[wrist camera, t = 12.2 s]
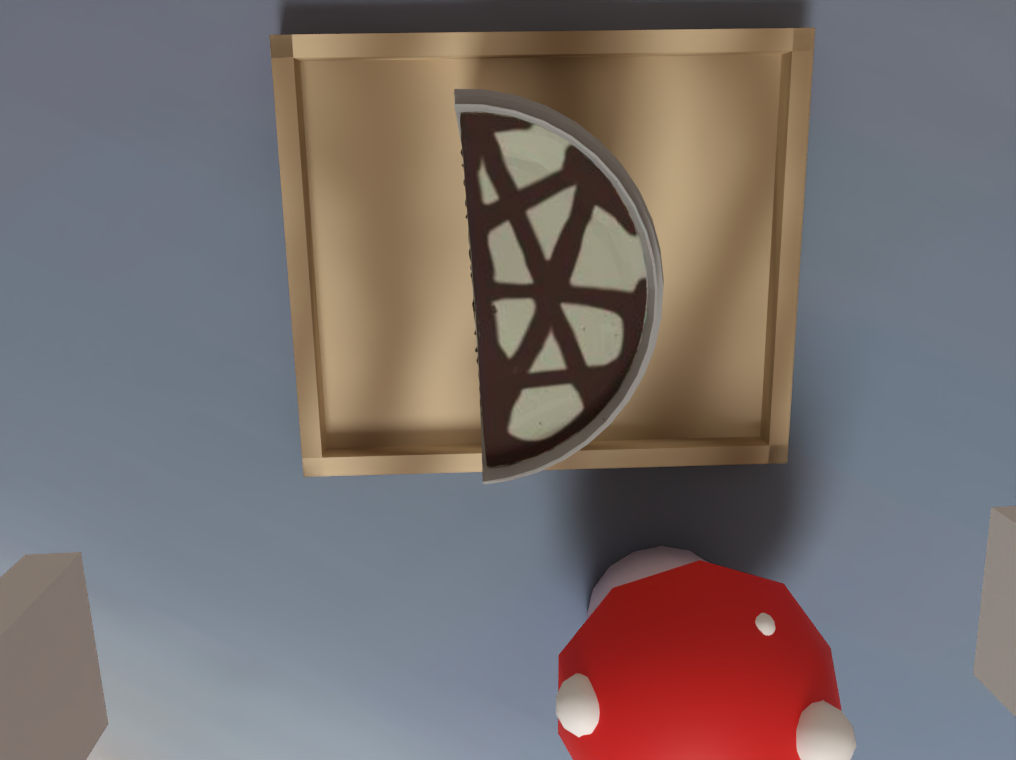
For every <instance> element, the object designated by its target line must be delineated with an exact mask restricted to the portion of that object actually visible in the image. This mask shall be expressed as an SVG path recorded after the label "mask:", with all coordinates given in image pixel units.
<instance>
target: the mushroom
mask: <svg viewBox="0 0 1016 760" xmlns="http://www.w3.org/2000/svg"><path fill="white" fill-rule="evenodd" d="M556 715H557V717H558V734H559V735H560V737H561V739H562V741H563V742H564V744H565V746H566V748H567V749H568V751H569V753H570V755H571V756H572V758H573V760H850V759H851V757H852V755H853V753H854V750H855V748H856V741H855V736H854V730H853V726H852V725H851V723H850V722H849V720H848V719H847V718H846V716H845V715H844V714H843V712H842V710H841V705H840V699H839V693H838V688H837V682H836V676H835V671H834V665H833V660H832V654H831V648H830V647H829V645H828V644H827V642H826V641H825V640H824V638H823V637H822V636H821V634H820V633H819V631H818V630H817V629H816V627H815V626H814V625H813V623H812V622H811V620H810V619H809V618H808V616H807V615H806V614H805V612H804V611H803V609H802V608H801V607H800V605H799V604H798V603H797V601H796V600H795V598H794V597H793V596H792V594H791V593H790V592H789V590H788V589H787V587H786V586H785V585H784V584H783V583H779V582H776V581H772V580H769V579H765V578H762V577H758V576H755V575H751V574H747V573H744V572H740V571H737V570H733V569H730V568H726V567H722V566H719V565H715V564H712V563H709V562H707V561H706V560H704V559H702V558H701V557H699V556H697V555H696V554H694V553H693V552H691V551H689V550H684V549H677V548H671V547H665V546H658V547H653V548H649V549H644V550H639V551H634V552H632V553H630V554H629V555H627V556H626V557H624V558H622V559H621V560H619V561H618V562H616V563H614V564H613V565H611V566H610V567H609V568H608V569H607V570H606V572H605V573H604V574H603V576H602V577H601V579H600V580H599V581H598V583H597V584H596V585H595V587H594V588H593V590H592V595H591V599H590V603H589V607H588V612H587V619H586V622H585V623H584V624H583V625H582V627H581V628H580V629H579V630H578V632H577V633H576V634H575V635H574V637H573V638H572V639H571V640H570V642H569V643H568V644H567V645H566V647H565V648H564V649H563V650H562V652H561V653H560V654H559V682H558V694H557V696H556Z"/></svg>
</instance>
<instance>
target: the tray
mask: <svg viewBox="0 0 1016 760" xmlns="http://www.w3.org/2000/svg"><path fill="white" fill-rule="evenodd" d="M814 37H815V28H762V29H683V30H604V31H525V32H446V33H367V34H288V35H270V48H271V60H272V73H273V86H274V99H275V112H276V125H277V138H278V151H279V164H280V177H281V190H282V203H283V216H284V229H285V242H286V254H287V267H288V280H289V293H290V306H291V319H292V332H293V345H294V358H295V371H296V384H297V397H298V410H299V423H300V436H301V448H302V461H303V474H304V477H313V476H348V475H384V474H419V473H455V472H482V445H481V418H480V391H479V377H478V371H479V368H478V364H477V362H476V360H477V357H478V355H477V352H475V349H476V347H477V341H476V335H474V332H475V330H476V328H475V318H474V312H473V307H472V303H473V288H472V279H471V276H470V275H471V269H470V265H471V261H470V257H469V249H470V247H469V240H468V220H467V219H466V215H467V207H466V206H465V200H466V193H465V186H464V184H463V181H464V169H463V167H462V164H463V157H462V155H461V150H462V145H461V139H460V134H459V128H458V123H457V117H456V112H455V106H454V104H455V101H454V89H485V90H490V91H496V92H502V93H507V94H513V95H517V96H520V97H523V98H526V99H529V100H532V101H534V102H537V103H540V104H543V105H546V106H548V107H550V108H552V109H553V110H555V111H557V112H559V113H561V114H563V115H564V116H566V117H568V118H570V119H572V120H574V121H575V122H577V123H578V124H579V125H580V126H582V127H583V128H584V129H586V130H587V131H588V132H589V133H591V134H592V135H593V136H595V137H596V138H597V139H598V140H600V141H601V142H602V143H603V144H604V145H605V147H606V148H607V149H608V150H609V151H610V152H611V153H612V154H613V155H614V156H615V157H616V158H617V160H618V161H619V162H620V163H621V164H622V165H623V167H624V168H625V170H626V171H627V173H628V174H629V176H630V177H631V179H632V180H633V182H634V183H635V185H636V186H637V188H638V189H639V191H640V193H641V195H642V197H643V199H644V202H645V204H646V206H647V208H648V211H649V213H650V215H651V217H652V219H653V223H654V227H655V231H656V234H657V238H658V242H659V245H660V249H661V259H662V268H663V278H664V284H663V302H662V318H661V323H660V327H659V332H658V336H657V341H656V345H655V349H654V351H653V354H652V356H651V359H650V361H649V364H648V367H647V369H646V372H645V374H644V376H643V378H642V380H641V381H640V383H639V385H638V387H637V388H636V390H635V392H634V393H633V395H632V397H631V399H630V400H629V402H628V403H627V404H626V405H625V407H624V408H623V409H622V410H621V412H620V413H619V414H618V415H617V416H616V418H615V419H614V420H613V421H612V423H611V424H610V425H609V426H608V427H606V428H605V429H604V430H603V431H602V432H601V433H600V434H599V435H598V436H597V437H596V438H594V439H593V440H592V441H591V442H590V443H589V444H587V445H586V446H584V447H583V448H581V449H580V450H578V451H577V452H575V453H574V454H572V455H571V456H569V457H568V458H566V459H565V460H563V461H561V462H559V463H557V464H554V465H552V466H550V467H548V468H546V469H544V470H562V469H597V468H633V467H669V466H704V465H740V464H775V463H787V457H788V441H789V426H790V410H791V395H792V379H793V364H794V348H795V332H796V317H797V301H798V286H799V270H800V255H801V239H802V224H803V208H804V193H805V177H806V161H807V146H808V130H809V115H810V99H811V84H812V68H813V53H814Z"/></svg>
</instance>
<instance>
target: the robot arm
mask: <svg viewBox="0 0 1016 760" xmlns="http://www.w3.org/2000/svg"><path fill="white" fill-rule="evenodd" d="M973 674H974V676H975V677H976V678H977V679H978V680H979V681H980V682H981V683H982V684H983V685H984V686H985V687H986V688H987V689H988V690H989V691H990V692H991V693H992V694H993V695H994V696H995V697H996V698H997V699H998V700H999V701H1000V702H1001V703H1002V704H1003V705H1004V706H1005V707H1006V708H1007V709H1008V710H1009V711H1010V712H1011V713H1012V714H1013V715H1014V716H1015V717H1016V506H1007V507H991V516H990V525H989V534H988V543H987V552H986V562H985V571H984V580H983V589H982V599H981V608H980V617H979V626H978V635H977V645H976V654H975V663H974V672H973ZM107 725H108V719H107V713H106V706H105V700H104V694H103V688H102V681H101V675H100V669H99V663H98V656H97V650H96V644H95V638H94V631H93V625H92V619H91V613H90V606H89V600H88V594H87V587H86V581H85V575H84V569H83V562H82V556H81V552H73V553H53V554H33V555H25V556H23V557H22V558H21V559H20V560H19V561H18V562H17V563H16V564H15V565H14V566H13V567H11V568H10V569H9V570H8V571H7V572H6V573H5V574H4V575H3V576H2V577H1V578H0V760H86V759H87V757H88V756H89V754H90V752H91V751H92V749H93V748H94V746H95V744H96V743H97V741H98V739H99V738H100V736H101V735H102V733H103V731H104V730H105V728H106V727H107Z"/></svg>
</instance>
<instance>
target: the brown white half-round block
mask: <svg viewBox="0 0 1016 760" xmlns="http://www.w3.org/2000/svg"><path fill="white" fill-rule="evenodd" d="M454 101H455V104H454V106H455V112H456V117H457V123H458V128H459V134H460V139H461V145H462V150H461V155H462V157H463V164H462V167H463V169H464V181H463V184H464V186H465V193H466V200H465V206H466V207H467V215H466V219H467V220H468V240H469V247H470V249H469V257H470V261H471V265H470V269H471V275H470V276H471V279H472V288H473V303H472V307H473V312H474V318H475V328H476V330H475V332H474V335H476V341H477V347H476V349H475V352H477V355H478V357H477V360H476V362H477V364H478V368H479V371H478V377H479V391H480V418H481V445H482V472H483V485H484V484H491V483H497V482H504V481H510V480H514V479H517V478H520V477H524V476H527V475H530V474H534V473H537V472H540V471H542V470H544V469H546V468H548V467H550V466H552V465H554V464H557V463H559V462H561V461H563V460H565V459H566V458H568V457H569V456H571V455H572V454H574V453H575V452H577V451H578V450H580V449H581V448H583V447H584V446H586V445H587V444H589V443H590V442H591V441H592V440H593V439H594V438H596V437H597V436H598V435H599V434H600V433H601V432H602V431H603V430H604V429H605V428H606V427H608V426H609V425H610V424H611V423H612V421H613V420H614V419H615V418H616V416H617V415H618V414H619V413H620V412H621V410H622V409H623V408H624V407H625V405H626V404H627V403H628V402H629V400H630V399H631V397H632V395H633V393H634V392H635V390H636V388H637V387H638V385H639V383H640V381H641V380H642V378H643V376H644V374H645V372H646V369H647V367H648V364H649V361H650V359H651V356H652V354H653V351H654V349H655V345H656V341H657V336H658V332H659V327H660V323H661V318H662V302H663V284H664V278H663V268H662V259H661V249H660V245H659V242H658V238H657V234H656V231H655V227H654V223H653V219H652V217H651V215H650V213H649V211H648V208H647V206H646V204H645V202H644V199H643V197H642V195H641V193H640V191H639V189H638V188H637V186H636V185H635V183H634V182H633V180H632V179H631V177H630V176H629V174H628V173H627V171H626V170H625V168H624V167H623V165H622V164H621V163H620V162H619V161H618V160H617V158H616V157H615V156H614V155H613V154H612V153H611V152H610V151H609V150H608V149H607V148H606V147H605V145H604V144H603V143H602V142H601V141H600V140H598V139H597V138H596V137H595V136H593V135H592V134H591V133H589V132H588V131H587V130H586V129H584V128H583V127H582V126H580V125H579V124H578V123H577V122H575V121H574V120H572V119H570V118H568V117H566V116H564V115H563V114H561V113H559V112H557V111H555V110H553V109H552V108H550V107H548V106H546V105H543V104H540V103H537V102H534V101H532V100H529V99H526V98H523V97H520V96H517V95H513V94H507V93H502V92H496V91H490V90H485V89H454Z"/></svg>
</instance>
